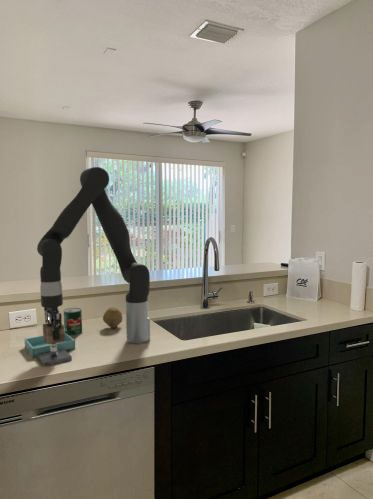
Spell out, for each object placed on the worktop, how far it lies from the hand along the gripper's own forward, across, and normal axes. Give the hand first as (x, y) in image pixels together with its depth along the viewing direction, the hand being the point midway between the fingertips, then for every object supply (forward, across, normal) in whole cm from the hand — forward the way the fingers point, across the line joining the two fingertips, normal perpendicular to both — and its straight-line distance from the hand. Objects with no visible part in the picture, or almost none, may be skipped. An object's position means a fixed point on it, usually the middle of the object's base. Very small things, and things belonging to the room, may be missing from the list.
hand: (53, 337), depth 136 cm
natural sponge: (+9, +23, -34) cm, 42 cm away
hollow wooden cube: (+1, 0, 0) cm, 1 cm away
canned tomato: (+9, +26, -16) cm, 32 cm away
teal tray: (+8, +13, -2) cm, 16 cm away
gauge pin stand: (+8, 0, 0) cm, 8 cm away
